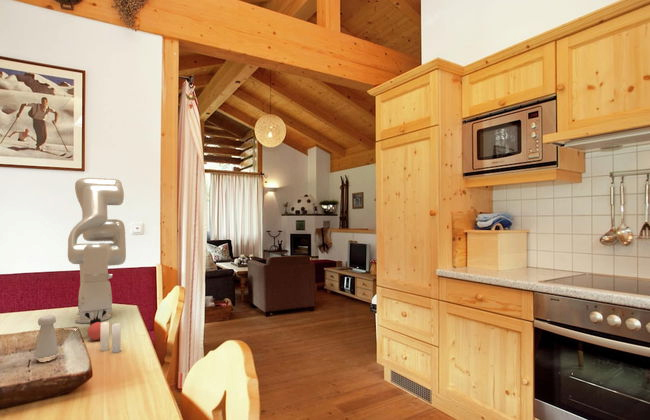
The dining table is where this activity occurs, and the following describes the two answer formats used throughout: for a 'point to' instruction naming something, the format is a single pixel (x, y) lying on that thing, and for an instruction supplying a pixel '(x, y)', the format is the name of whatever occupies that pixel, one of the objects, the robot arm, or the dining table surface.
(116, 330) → the pin
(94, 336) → the ball
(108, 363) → the dining table surface
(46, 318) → the salt shaker
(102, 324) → the pin
